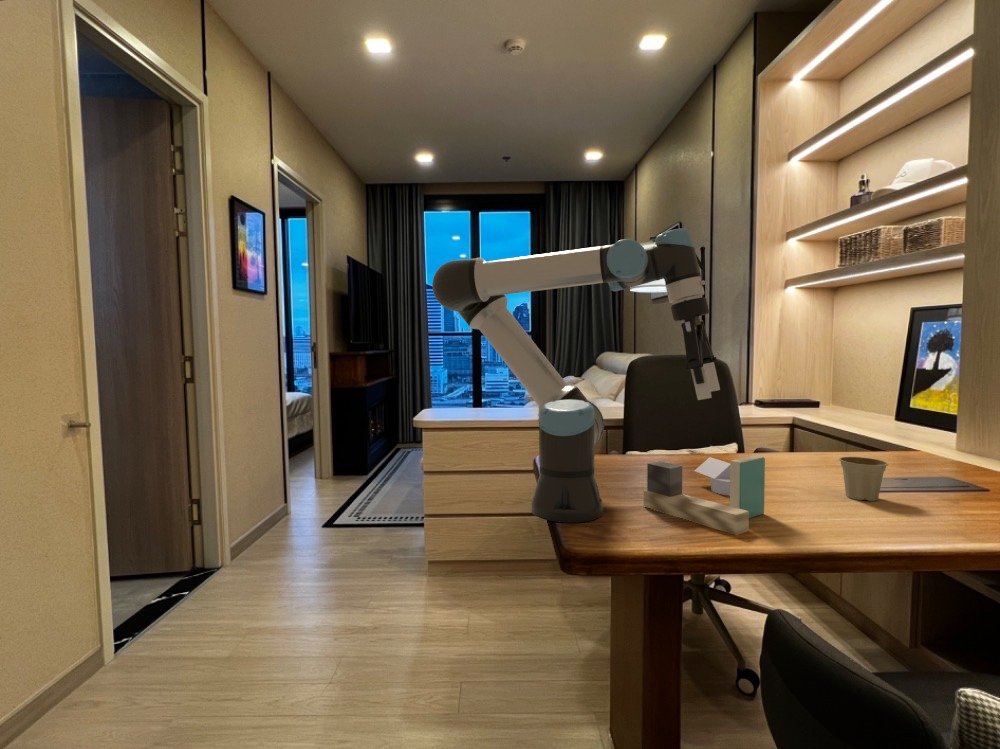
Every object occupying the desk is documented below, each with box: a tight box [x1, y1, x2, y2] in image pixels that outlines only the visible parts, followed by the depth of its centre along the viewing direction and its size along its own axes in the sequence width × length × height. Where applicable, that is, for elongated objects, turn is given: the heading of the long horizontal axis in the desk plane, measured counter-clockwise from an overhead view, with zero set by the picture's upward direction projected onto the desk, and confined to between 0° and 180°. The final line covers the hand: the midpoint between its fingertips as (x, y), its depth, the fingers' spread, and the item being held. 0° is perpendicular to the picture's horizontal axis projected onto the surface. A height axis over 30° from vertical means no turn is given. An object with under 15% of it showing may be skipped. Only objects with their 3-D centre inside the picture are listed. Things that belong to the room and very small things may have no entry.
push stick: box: [643, 461, 750, 536], centre depth 110 cm, size 22×4×10 cm, turn 35°
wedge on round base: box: [694, 456, 730, 497], centre depth 132 cm, size 9×7×13 cm
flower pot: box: [838, 456, 889, 502], centre depth 124 cm, size 9×9×9 cm
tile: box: [729, 454, 766, 519], centre depth 111 cm, size 9×2×12 cm, turn 125°
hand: (709, 394), depth 118 cm, fingers open, 13 cm apart
